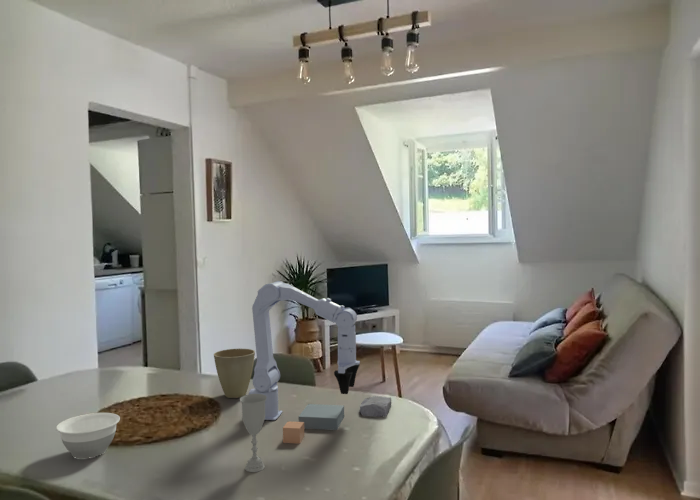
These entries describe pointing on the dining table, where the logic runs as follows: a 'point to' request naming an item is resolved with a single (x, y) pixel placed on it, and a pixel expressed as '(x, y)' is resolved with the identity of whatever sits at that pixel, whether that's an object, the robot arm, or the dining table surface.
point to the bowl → (88, 433)
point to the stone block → (375, 406)
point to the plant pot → (234, 370)
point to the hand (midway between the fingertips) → (347, 390)
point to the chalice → (253, 425)
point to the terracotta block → (293, 432)
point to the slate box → (322, 416)
